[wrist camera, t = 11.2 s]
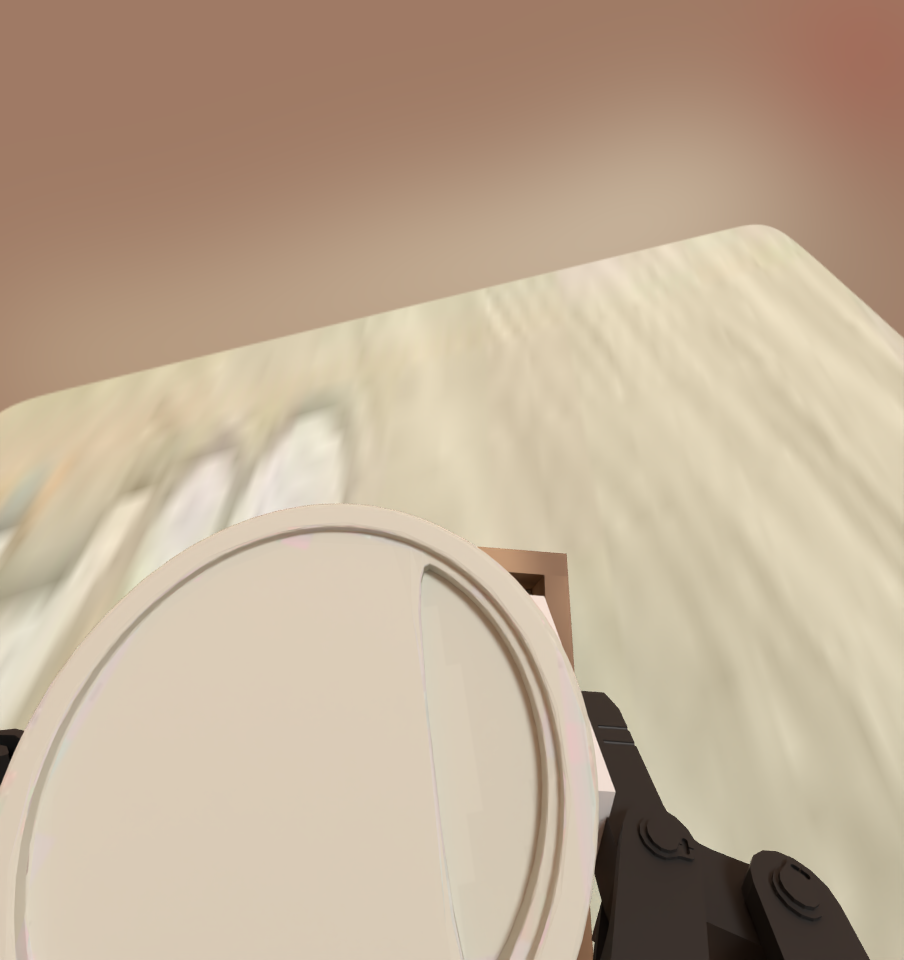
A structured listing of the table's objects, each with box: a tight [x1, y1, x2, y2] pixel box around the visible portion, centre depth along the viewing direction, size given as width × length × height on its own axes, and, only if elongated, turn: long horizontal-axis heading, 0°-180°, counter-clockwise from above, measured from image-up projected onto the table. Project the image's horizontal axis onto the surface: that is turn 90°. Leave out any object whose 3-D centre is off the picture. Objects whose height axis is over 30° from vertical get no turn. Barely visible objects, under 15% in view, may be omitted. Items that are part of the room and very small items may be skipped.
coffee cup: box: [0, 503, 599, 960], centre depth 11 cm, size 9×9×12 cm
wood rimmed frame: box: [478, 547, 593, 960], centre depth 17 cm, size 14×14×4 cm
